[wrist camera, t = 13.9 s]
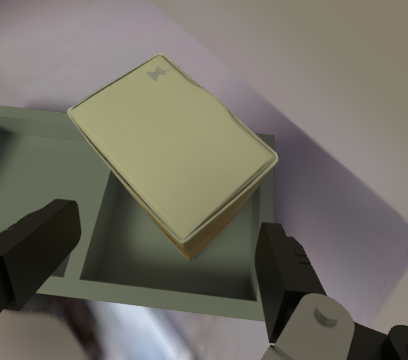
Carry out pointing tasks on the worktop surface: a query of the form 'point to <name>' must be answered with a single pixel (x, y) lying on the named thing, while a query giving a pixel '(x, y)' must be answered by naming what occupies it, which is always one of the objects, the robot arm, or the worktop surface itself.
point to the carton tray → (124, 226)
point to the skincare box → (174, 150)
